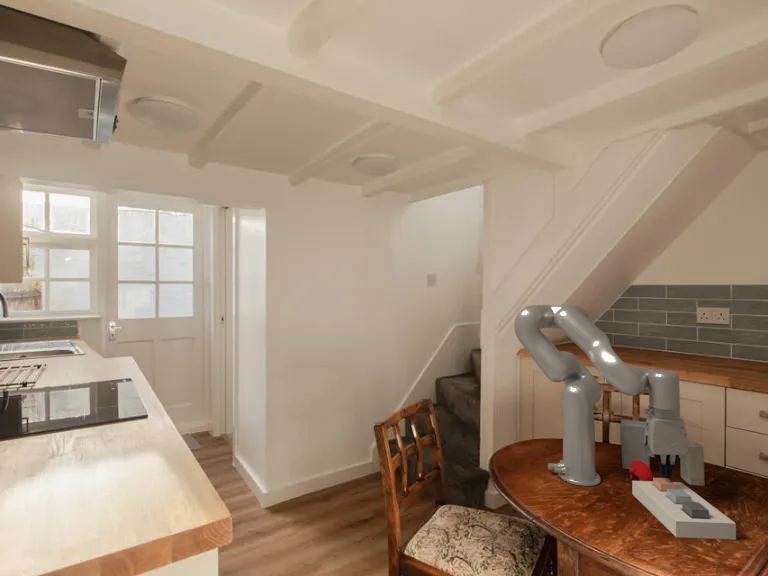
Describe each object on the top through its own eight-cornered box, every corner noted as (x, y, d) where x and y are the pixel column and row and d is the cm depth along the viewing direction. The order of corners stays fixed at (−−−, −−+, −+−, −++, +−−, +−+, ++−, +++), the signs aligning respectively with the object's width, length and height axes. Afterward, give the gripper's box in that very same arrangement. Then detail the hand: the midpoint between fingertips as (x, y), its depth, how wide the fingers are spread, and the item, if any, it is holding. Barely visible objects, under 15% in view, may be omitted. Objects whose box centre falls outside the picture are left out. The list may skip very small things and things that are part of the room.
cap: (622, 465, 141) (627, 462, 136) (639, 459, 141) (645, 456, 136) (636, 490, 136) (642, 488, 131) (654, 484, 136) (660, 482, 131)
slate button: (675, 507, 114) (675, 496, 114) (667, 499, 118) (666, 489, 118) (691, 507, 114) (691, 496, 114) (682, 500, 118) (682, 489, 118)
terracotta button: (660, 494, 121) (660, 484, 121) (653, 487, 125) (653, 477, 125) (675, 494, 121) (675, 484, 121) (667, 488, 125) (667, 478, 125)
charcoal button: (692, 521, 107) (692, 509, 107) (682, 513, 111) (682, 501, 111) (708, 522, 107) (708, 510, 107) (698, 513, 111) (698, 502, 111)
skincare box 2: (705, 486, 132) (704, 447, 132) (689, 485, 133) (688, 446, 133) (694, 477, 138) (694, 440, 138) (679, 476, 139) (679, 439, 139)
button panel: (676, 537, 106) (676, 521, 106) (632, 493, 128) (632, 480, 128) (735, 539, 105) (735, 523, 105) (681, 495, 126) (681, 482, 126)
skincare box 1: (649, 467, 146) (649, 421, 146) (649, 474, 140) (649, 427, 140) (621, 461, 151) (621, 417, 151) (620, 469, 145) (620, 423, 145)
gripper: (644, 416, 120) (645, 481, 120) (700, 417, 119) (701, 482, 118) (631, 409, 127) (632, 470, 127) (683, 409, 126) (684, 471, 126)
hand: (665, 476), depth 123 cm, fingers closed
